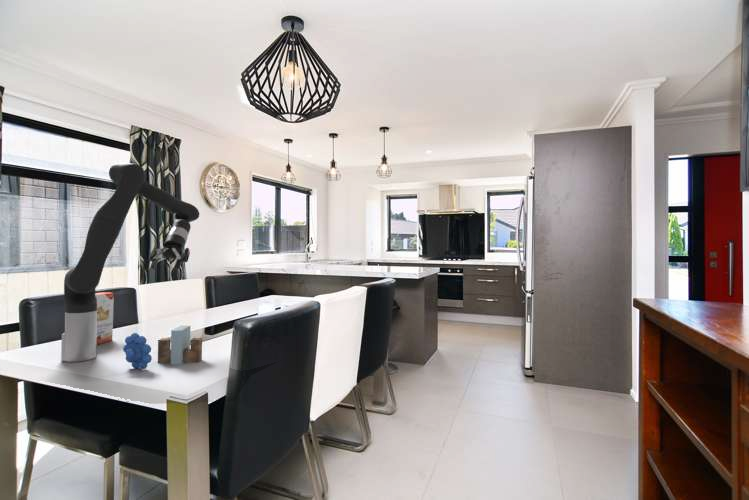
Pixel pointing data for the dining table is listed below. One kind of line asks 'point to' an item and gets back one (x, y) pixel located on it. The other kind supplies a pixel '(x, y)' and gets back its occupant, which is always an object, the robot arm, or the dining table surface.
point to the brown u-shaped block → (188, 354)
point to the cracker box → (104, 316)
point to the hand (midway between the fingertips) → (164, 268)
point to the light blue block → (179, 343)
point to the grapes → (137, 351)
